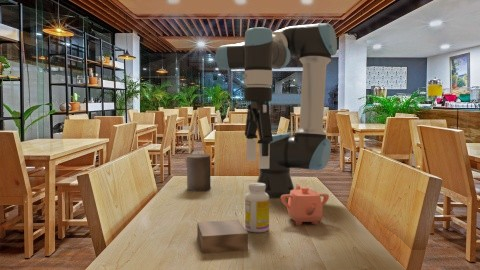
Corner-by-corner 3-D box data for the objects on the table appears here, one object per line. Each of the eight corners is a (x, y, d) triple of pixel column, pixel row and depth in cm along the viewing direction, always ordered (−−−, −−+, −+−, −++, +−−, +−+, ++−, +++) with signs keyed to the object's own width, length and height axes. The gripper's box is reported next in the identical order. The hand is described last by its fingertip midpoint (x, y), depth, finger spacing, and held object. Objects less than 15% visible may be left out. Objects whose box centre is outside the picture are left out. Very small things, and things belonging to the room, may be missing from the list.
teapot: (335, 221, 118) (336, 188, 117) (313, 231, 109) (314, 195, 109) (296, 212, 128) (297, 181, 127) (273, 220, 119) (273, 187, 118)
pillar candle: (215, 188, 163) (215, 151, 162) (200, 192, 155) (200, 154, 154) (196, 185, 168) (196, 150, 167) (181, 189, 160) (181, 152, 159)
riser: (238, 234, 106) (238, 219, 106) (248, 249, 96) (248, 233, 95) (197, 237, 104) (197, 222, 104) (202, 252, 93) (202, 236, 93)
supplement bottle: (272, 227, 112) (272, 183, 111) (263, 234, 106) (264, 187, 105) (250, 224, 115) (251, 180, 114) (241, 231, 109) (241, 185, 108)
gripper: (235, 88, 119) (234, 158, 120) (256, 84, 94) (255, 172, 96) (259, 88, 120) (258, 158, 122) (286, 85, 96) (284, 171, 98)
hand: (257, 164), depth 109 cm, fingers open, 13 cm apart
